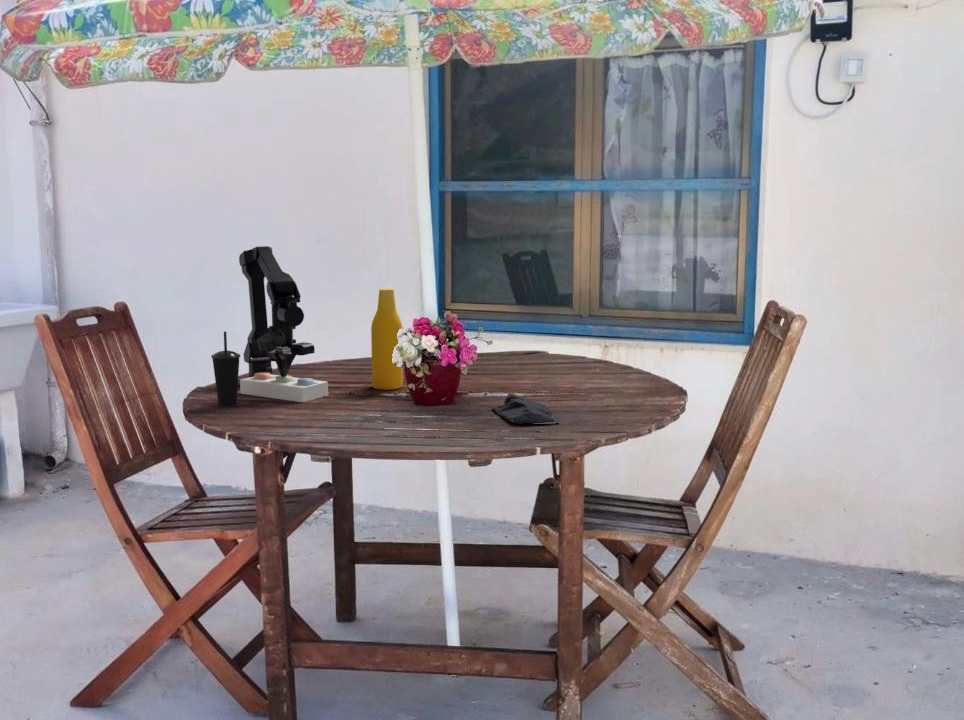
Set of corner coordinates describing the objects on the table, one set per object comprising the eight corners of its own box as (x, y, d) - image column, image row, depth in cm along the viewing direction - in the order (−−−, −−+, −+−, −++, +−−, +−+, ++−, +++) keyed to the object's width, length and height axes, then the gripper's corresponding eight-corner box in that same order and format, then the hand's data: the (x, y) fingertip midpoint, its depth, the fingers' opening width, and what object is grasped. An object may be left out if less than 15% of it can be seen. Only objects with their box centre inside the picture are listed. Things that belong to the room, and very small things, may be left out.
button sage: (272, 394, 304) (272, 377, 303) (283, 391, 308) (283, 374, 307) (285, 396, 302) (284, 378, 301) (295, 393, 306) (295, 376, 305)
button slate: (294, 397, 300) (293, 379, 299) (305, 394, 304) (304, 377, 303) (307, 399, 298) (306, 381, 297) (317, 396, 301) (317, 379, 301)
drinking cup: (216, 401, 294) (214, 329, 291) (244, 401, 295) (242, 329, 291) (210, 407, 287) (207, 333, 284) (238, 407, 287) (236, 333, 284)
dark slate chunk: (503, 428, 267) (503, 410, 267) (490, 410, 289) (490, 392, 288) (563, 427, 269) (563, 408, 269) (546, 408, 291) (546, 391, 290)
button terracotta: (251, 391, 308) (250, 374, 307) (262, 388, 312) (261, 371, 311) (263, 393, 306) (263, 375, 305) (274, 390, 310) (274, 373, 309)
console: (240, 393, 306) (240, 379, 305) (266, 387, 315) (266, 373, 315) (302, 402, 294) (302, 388, 294) (328, 395, 304) (328, 381, 303)
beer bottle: (365, 386, 317) (364, 288, 312) (390, 382, 323) (389, 287, 318) (384, 391, 310) (383, 291, 306) (409, 387, 316) (408, 289, 312)
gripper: (237, 322, 299) (239, 377, 302) (288, 328, 290) (290, 384, 292) (264, 318, 309) (266, 371, 311) (315, 323, 299) (316, 378, 302)
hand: (283, 376), depth 304 cm, fingers closed, pressing on button sage
